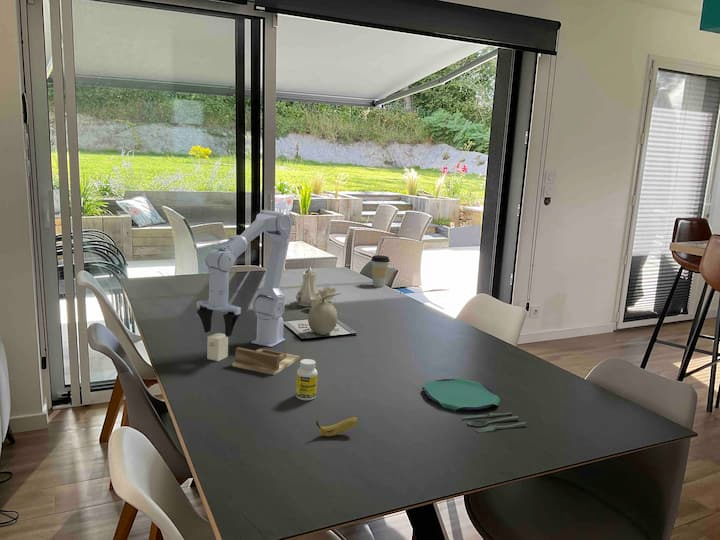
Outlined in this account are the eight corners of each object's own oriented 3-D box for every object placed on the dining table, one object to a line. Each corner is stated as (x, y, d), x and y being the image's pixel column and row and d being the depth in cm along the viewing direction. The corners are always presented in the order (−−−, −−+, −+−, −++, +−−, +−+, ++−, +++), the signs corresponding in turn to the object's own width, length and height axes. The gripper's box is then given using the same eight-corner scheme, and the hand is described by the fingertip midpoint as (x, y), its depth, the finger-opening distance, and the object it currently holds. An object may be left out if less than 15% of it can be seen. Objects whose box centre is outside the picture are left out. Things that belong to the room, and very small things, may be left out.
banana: (355, 430, 137) (356, 414, 136) (358, 435, 135) (359, 419, 134) (313, 435, 134) (314, 418, 133) (316, 439, 132) (317, 423, 131)
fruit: (300, 334, 208) (302, 293, 205) (317, 327, 218) (319, 288, 215) (325, 340, 203) (327, 298, 201) (341, 333, 214) (344, 292, 211)
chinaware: (330, 318, 239) (337, 278, 236) (290, 311, 239) (296, 271, 235) (334, 301, 266) (340, 266, 263) (298, 295, 266) (304, 260, 263)
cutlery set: (473, 382, 173) (474, 375, 173) (534, 429, 146) (535, 420, 145) (411, 387, 167) (412, 380, 166) (463, 437, 139) (464, 428, 139)
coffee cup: (367, 283, 302) (368, 254, 299) (384, 283, 305) (386, 255, 302) (372, 287, 293) (374, 258, 290) (390, 287, 296) (392, 258, 293)
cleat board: (260, 351, 188) (261, 336, 187) (299, 359, 183) (300, 343, 182) (232, 366, 173) (232, 350, 172) (273, 375, 168) (274, 358, 167)
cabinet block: (217, 354, 183) (217, 332, 182) (227, 356, 182) (228, 334, 180) (205, 359, 178) (205, 337, 176) (216, 362, 176) (217, 339, 175)
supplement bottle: (297, 401, 152) (299, 365, 150) (294, 393, 157) (295, 358, 155) (318, 400, 153) (320, 364, 151) (314, 392, 158) (315, 357, 156)
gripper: (190, 289, 175) (189, 333, 177) (231, 296, 170) (230, 341, 172) (205, 285, 181) (204, 327, 184) (245, 291, 176) (243, 335, 179)
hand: (217, 333), depth 179 cm, fingers open, 7 cm apart
